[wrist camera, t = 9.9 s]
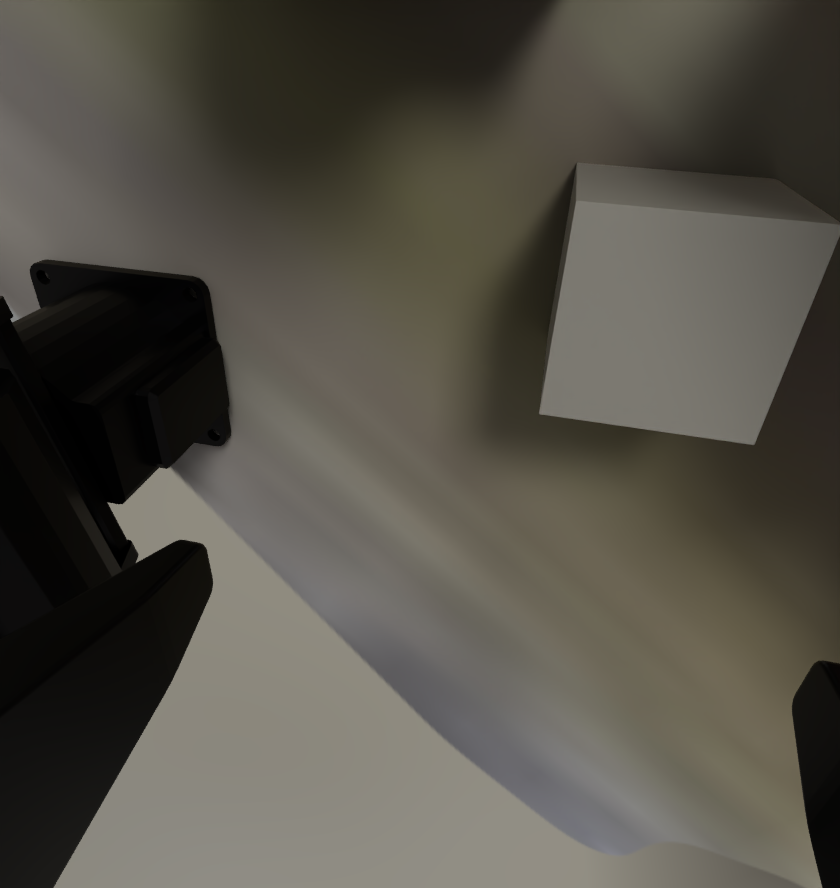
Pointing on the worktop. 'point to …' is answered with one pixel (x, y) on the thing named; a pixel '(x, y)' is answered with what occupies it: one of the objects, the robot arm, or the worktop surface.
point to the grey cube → (680, 299)
